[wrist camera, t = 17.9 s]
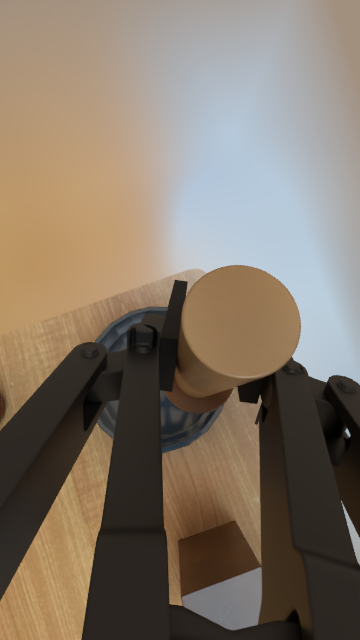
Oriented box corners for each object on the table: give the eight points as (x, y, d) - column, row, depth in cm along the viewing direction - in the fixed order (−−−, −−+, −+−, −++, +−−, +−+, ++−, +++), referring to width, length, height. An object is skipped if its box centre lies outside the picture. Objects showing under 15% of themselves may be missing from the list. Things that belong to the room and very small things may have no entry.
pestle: (215, 339, 23) (293, 216, 8) (236, 401, 21) (372, 386, 7) (154, 356, 22) (124, 257, 8) (172, 421, 21) (176, 449, 6)
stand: (235, 520, 39) (261, 566, 28) (256, 590, 37) (293, 670, 26) (178, 540, 39) (180, 596, 27) (196, 613, 36) (207, 707, 25)
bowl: (199, 305, 48) (203, 292, 43) (239, 424, 43) (248, 426, 38) (83, 336, 46) (72, 326, 41) (109, 465, 41) (100, 473, 36)
